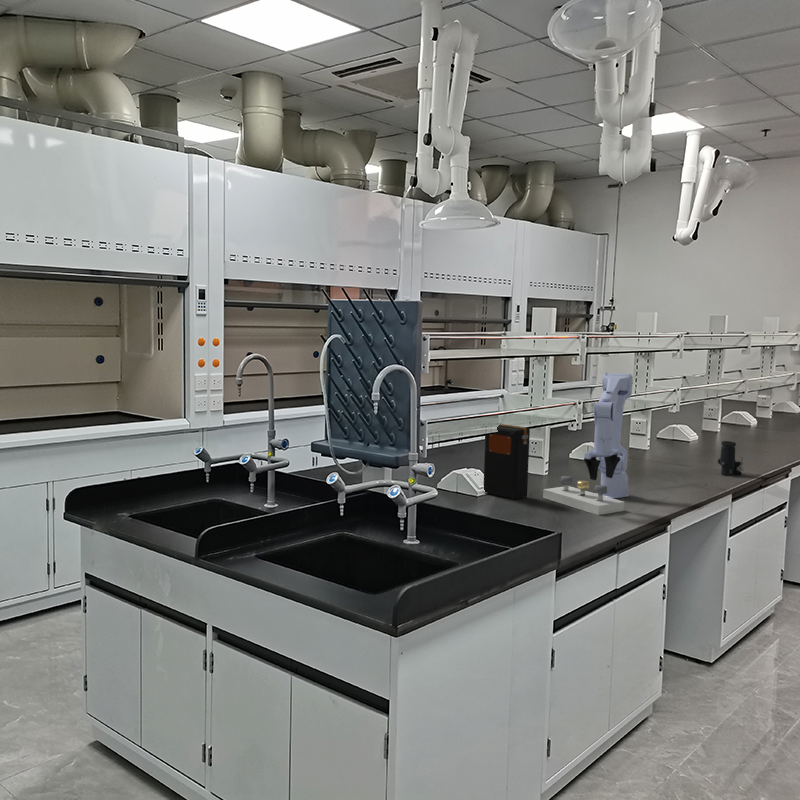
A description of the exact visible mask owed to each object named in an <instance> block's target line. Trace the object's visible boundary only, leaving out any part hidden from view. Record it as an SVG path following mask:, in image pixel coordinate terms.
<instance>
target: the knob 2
mask: <svg viewBox="0 0 800 800" xmlns="http://www.w3.org/2000/svg"><path fill="white" fill-rule="evenodd" d="M593 493H598V501H600V502H602V501H603V494H606V493H607V487H606V486H602V485H601V484H600V485H598V484H597V485H594V492H593Z"/></svg>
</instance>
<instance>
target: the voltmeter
mask: <svg viewBox="0 0 800 800" xmlns="http://www.w3.org/2000/svg"><path fill="white" fill-rule="evenodd" d="M499 424H500V425H499V426H498V427H497V430H498V432H496V433H494V434H489V435H484V458H483V459H484V461H483V463H484V464H483V465H484V466H483V486H484V490H485V492H487V493H486V494H490V495H494V496H495V495H496V496H499V497H503V498H509V499H512V500H518V499H520V498H525V499H526V498H527V497H528V488H529V487H528V484H529V483H528V482H529V481H528V479H529V477H528V476H529V459H530V434H531V433H530V431H531V429H530V428H529V427H525V426H519V425H512V424H511V425H509V424H503V423H499ZM501 424H502V425H501ZM485 492H484V493H485Z"/></svg>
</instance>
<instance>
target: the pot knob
mask: <svg viewBox="0 0 800 800" xmlns="http://www.w3.org/2000/svg"><path fill="white" fill-rule="evenodd" d="M576 488H578V489H581V490H580V496H585V491H586V490H588V489H589V490H590V481H588V480H577V482H576Z"/></svg>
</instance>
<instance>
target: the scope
mask: <svg viewBox="0 0 800 800" xmlns="http://www.w3.org/2000/svg"><path fill="white" fill-rule="evenodd" d="M736 444H737V442H735V441H726V440H723V441H721V445H722V446H721V450H720V456H719V457H720V458H718V460H717V463H718V464H719V465H720V466H721V473H720V475H721V476H724V477H732V476H734V475H737V476H739V475H742V474H743V473H742V472H744V470H745V468H744V467H743V466H744V456H741V457H740V460H739V461H736V446H737V445H736Z"/></svg>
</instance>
